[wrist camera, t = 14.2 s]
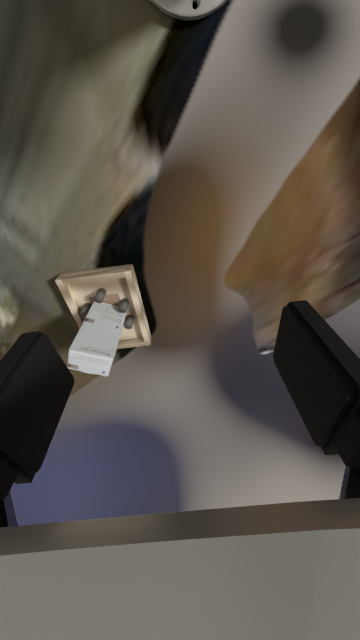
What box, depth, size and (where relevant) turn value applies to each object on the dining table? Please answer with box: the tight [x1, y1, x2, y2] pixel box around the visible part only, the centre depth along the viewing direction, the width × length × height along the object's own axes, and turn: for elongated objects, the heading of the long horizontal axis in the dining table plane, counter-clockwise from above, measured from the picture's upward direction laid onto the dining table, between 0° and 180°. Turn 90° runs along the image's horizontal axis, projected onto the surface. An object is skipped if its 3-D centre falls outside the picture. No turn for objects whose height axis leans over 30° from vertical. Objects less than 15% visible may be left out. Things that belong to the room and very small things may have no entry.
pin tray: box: [55, 264, 151, 349], centre depth 40 cm, size 16×12×4 cm
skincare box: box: [67, 301, 127, 376], centre depth 36 cm, size 6×4×12 cm
